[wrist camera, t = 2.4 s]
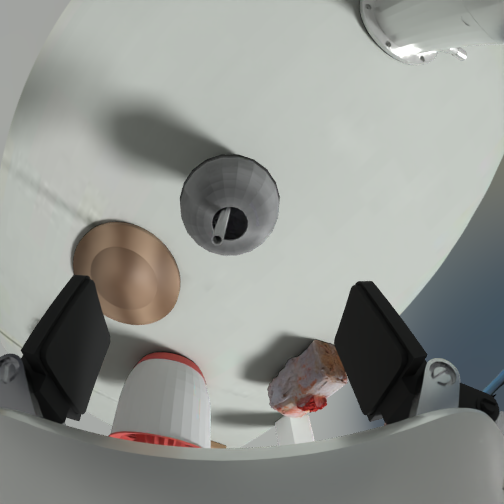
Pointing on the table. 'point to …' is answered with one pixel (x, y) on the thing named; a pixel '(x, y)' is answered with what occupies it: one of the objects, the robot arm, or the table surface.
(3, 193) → the table surface
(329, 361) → the food item
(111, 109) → the table surface
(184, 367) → the citrus juicer
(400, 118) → the table surface
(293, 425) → the milk
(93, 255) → the brown round plate
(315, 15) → the table surface
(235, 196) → the beverage cup
